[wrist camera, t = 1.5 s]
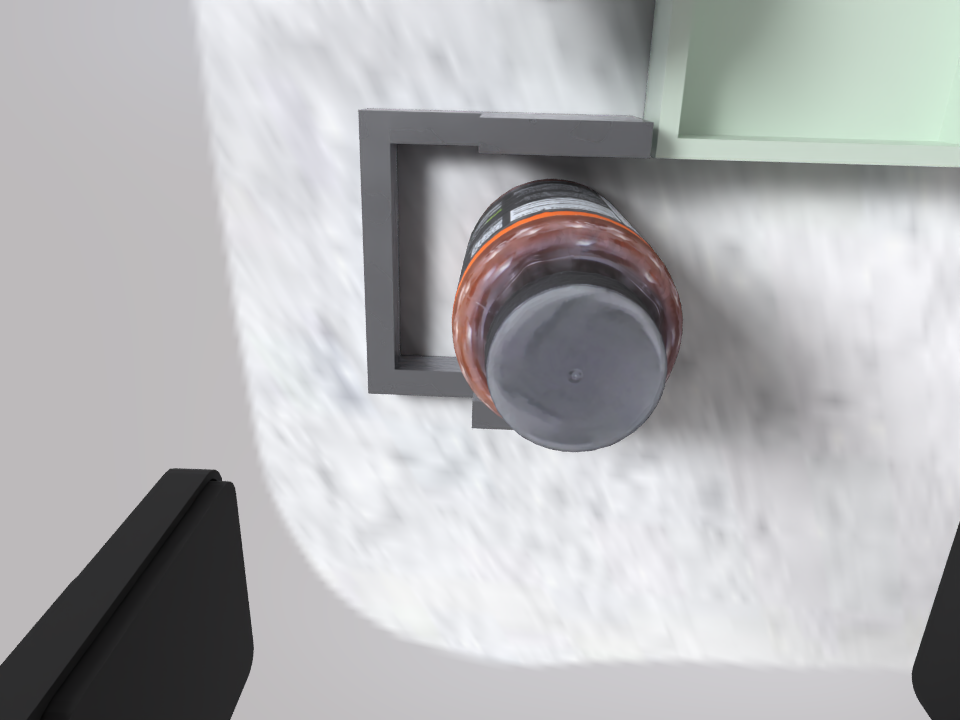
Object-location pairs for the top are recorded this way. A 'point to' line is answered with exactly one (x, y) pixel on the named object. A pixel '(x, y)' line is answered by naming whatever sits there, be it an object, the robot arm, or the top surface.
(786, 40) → the tray
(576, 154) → the bracket
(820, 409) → the top surface
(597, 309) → the supplement bottle
